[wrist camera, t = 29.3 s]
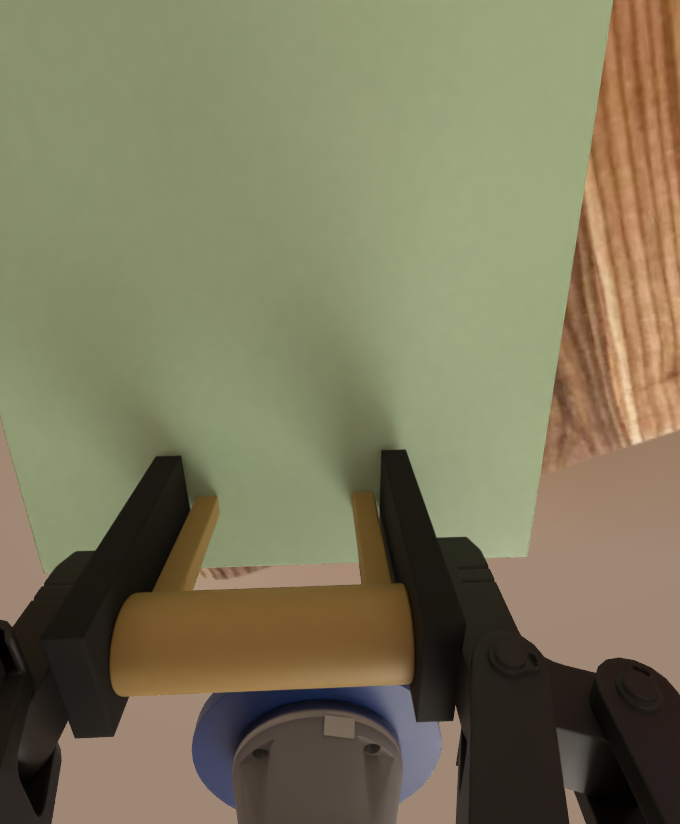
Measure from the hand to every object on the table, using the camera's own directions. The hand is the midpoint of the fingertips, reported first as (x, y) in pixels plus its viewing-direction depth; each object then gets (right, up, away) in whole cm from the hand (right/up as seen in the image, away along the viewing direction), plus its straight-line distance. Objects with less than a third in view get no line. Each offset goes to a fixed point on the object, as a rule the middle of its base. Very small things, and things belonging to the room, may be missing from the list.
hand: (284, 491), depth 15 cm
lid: (0, +7, -1) cm, 7 cm away
